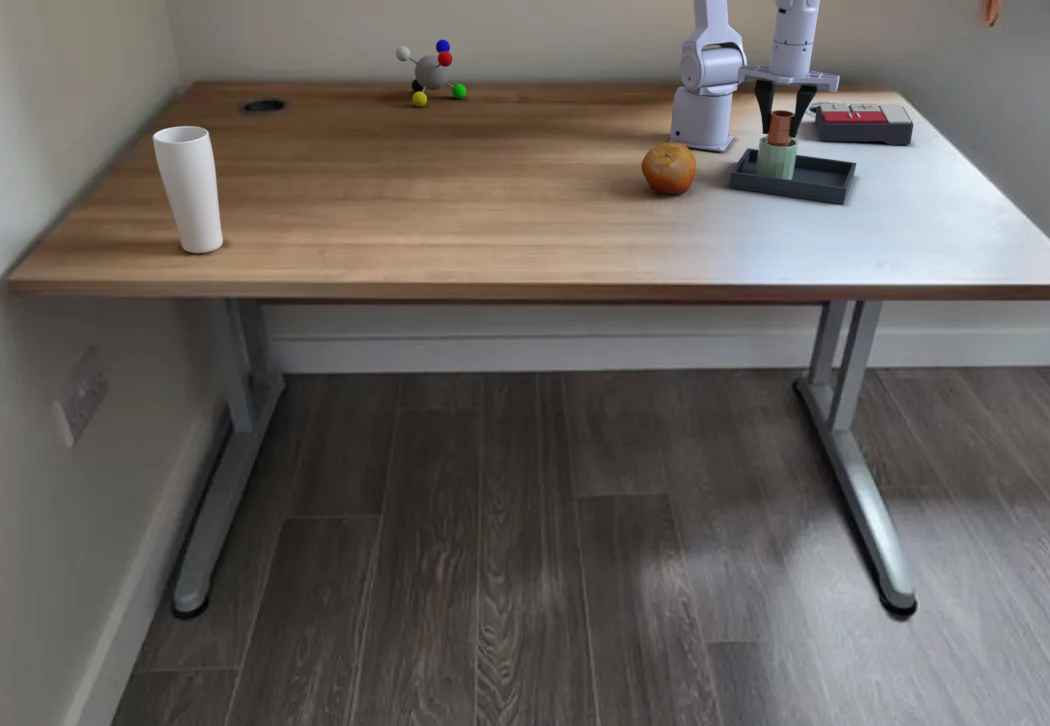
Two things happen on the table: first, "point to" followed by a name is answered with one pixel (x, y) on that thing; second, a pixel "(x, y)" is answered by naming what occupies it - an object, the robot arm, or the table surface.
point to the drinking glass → (190, 185)
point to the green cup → (776, 159)
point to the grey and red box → (864, 123)
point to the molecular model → (431, 72)
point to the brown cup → (780, 127)
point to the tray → (798, 178)
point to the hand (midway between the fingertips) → (779, 134)
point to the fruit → (669, 168)
